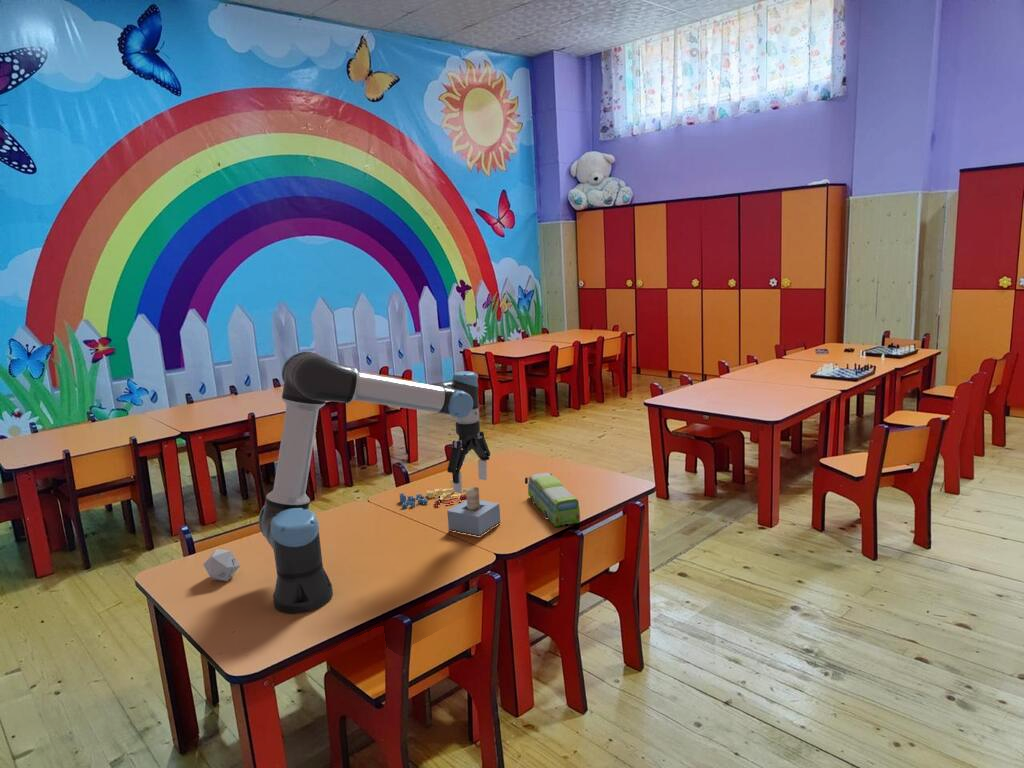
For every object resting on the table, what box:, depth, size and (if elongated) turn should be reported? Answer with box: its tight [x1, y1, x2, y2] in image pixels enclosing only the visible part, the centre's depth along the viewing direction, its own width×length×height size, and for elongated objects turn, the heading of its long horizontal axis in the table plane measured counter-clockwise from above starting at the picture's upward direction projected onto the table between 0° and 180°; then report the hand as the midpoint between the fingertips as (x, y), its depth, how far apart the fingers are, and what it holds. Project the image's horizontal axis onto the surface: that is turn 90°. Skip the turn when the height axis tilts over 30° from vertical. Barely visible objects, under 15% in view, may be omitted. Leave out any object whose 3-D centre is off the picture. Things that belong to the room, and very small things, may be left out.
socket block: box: [446, 499, 501, 536], centre depth 224 cm, size 12×12×7 cm
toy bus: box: [524, 472, 581, 527], centre depth 235 cm, size 10×31×10 cm, turn 15°
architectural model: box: [399, 478, 467, 510], centre depth 254 cm, size 45×14×5 cm, turn 114°
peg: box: [466, 486, 480, 512], centre depth 224 cm, size 4×4×12 cm
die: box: [202, 548, 241, 582], centre depth 199 cm, size 8×9×10 cm
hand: (470, 485), depth 222 cm, fingers open, 13 cm apart
